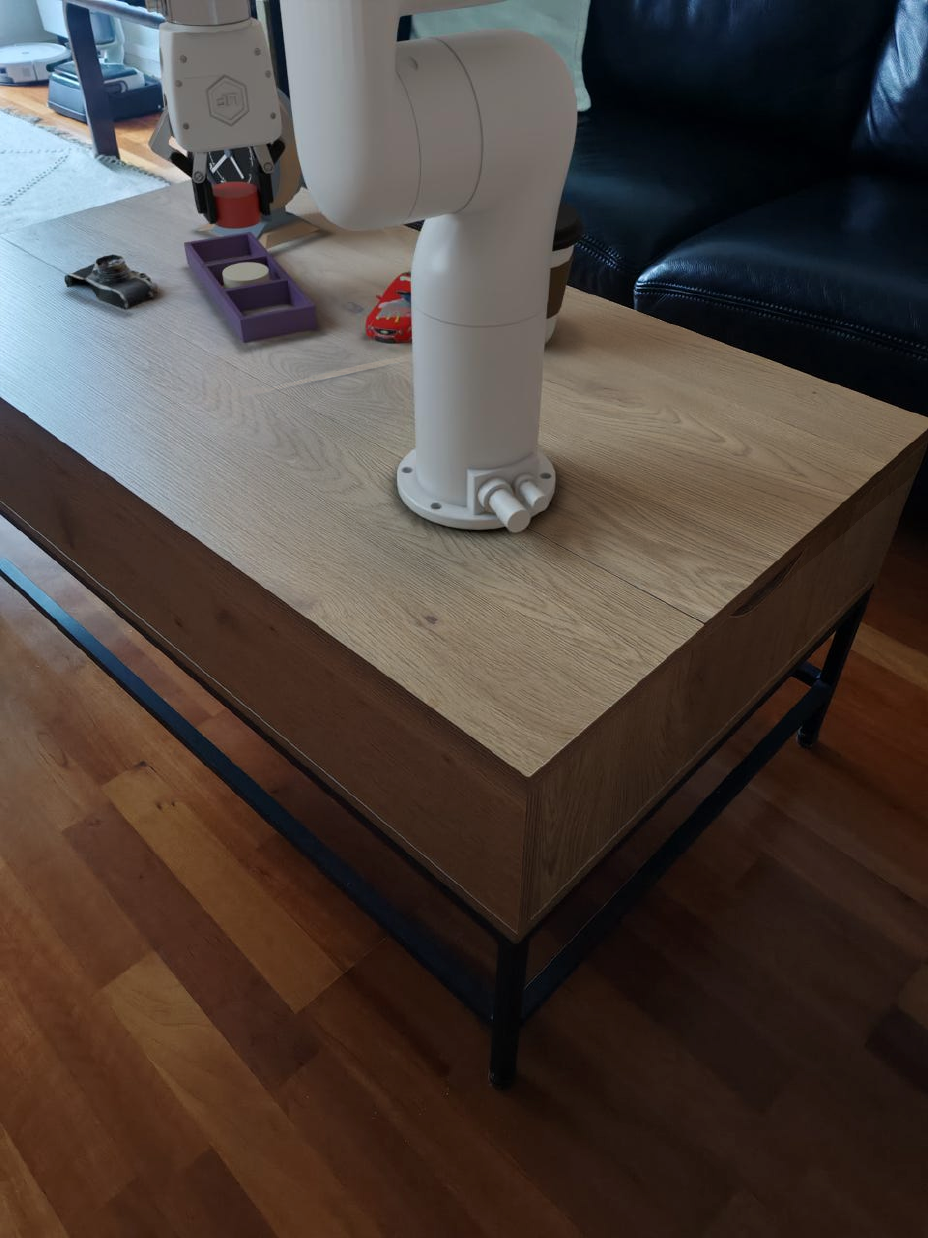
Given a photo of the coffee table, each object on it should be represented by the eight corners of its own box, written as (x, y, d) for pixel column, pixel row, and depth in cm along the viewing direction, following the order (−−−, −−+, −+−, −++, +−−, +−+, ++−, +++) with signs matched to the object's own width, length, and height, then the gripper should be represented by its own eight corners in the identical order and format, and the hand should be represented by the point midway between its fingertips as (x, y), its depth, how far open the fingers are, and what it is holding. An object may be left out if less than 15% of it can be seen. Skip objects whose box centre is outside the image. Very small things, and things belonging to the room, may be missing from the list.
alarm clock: (193, 229, 119) (163, 67, 107) (254, 208, 124) (232, 51, 112) (271, 259, 112) (249, 89, 100) (332, 235, 117) (318, 72, 106)
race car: (409, 354, 95) (407, 315, 92) (358, 345, 96) (355, 306, 93) (454, 299, 104) (454, 263, 101) (407, 292, 105) (406, 256, 103)
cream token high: (276, 286, 102) (274, 275, 101) (231, 294, 100) (229, 283, 99) (262, 270, 105) (260, 259, 104) (218, 277, 103) (217, 266, 102)
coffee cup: (447, 346, 96) (446, 222, 88) (493, 304, 103) (496, 187, 95) (549, 370, 92) (558, 243, 84) (589, 325, 100) (601, 204, 92)
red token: (267, 224, 98) (263, 193, 96) (220, 231, 96) (215, 200, 94) (253, 208, 101) (249, 178, 99) (207, 215, 99) (202, 185, 97)
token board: (318, 333, 98) (315, 305, 96) (244, 349, 95) (239, 320, 93) (254, 257, 112) (250, 231, 110) (188, 268, 110) (183, 242, 108)
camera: (103, 276, 108) (94, 238, 105) (165, 300, 103) (158, 261, 101) (65, 291, 105) (55, 252, 102) (127, 317, 100) (118, 277, 98)
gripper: (117, 21, 80) (161, 241, 93) (312, 5, 86) (329, 215, 98) (100, 4, 85) (144, 215, 98) (285, -10, 91) (304, 191, 103)
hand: (236, 213), depth 98 cm, fingers closed on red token, 4 cm apart
